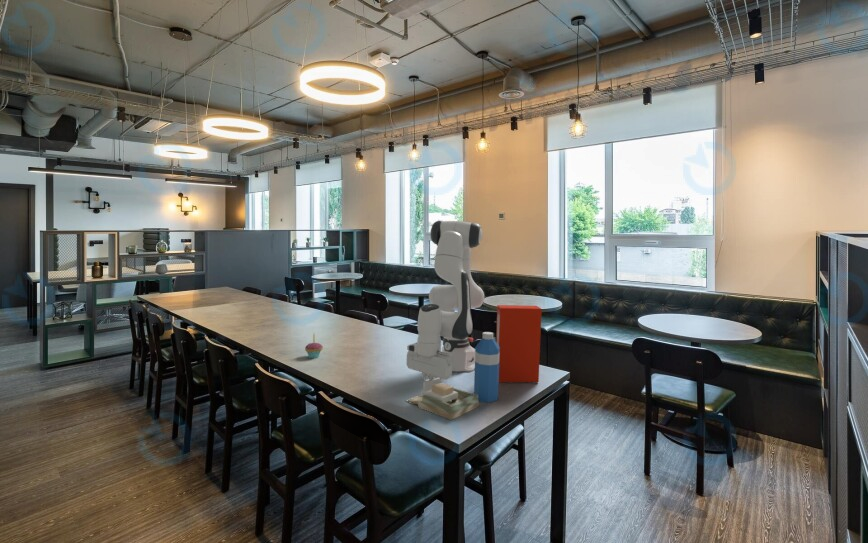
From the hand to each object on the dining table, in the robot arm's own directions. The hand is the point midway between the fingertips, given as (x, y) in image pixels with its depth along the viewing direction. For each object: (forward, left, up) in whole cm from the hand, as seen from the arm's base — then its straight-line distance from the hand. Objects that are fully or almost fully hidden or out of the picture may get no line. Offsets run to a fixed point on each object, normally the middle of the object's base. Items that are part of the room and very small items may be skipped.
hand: (428, 385), depth 154 cm
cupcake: (-1, -79, -6) cm, 79 cm away
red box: (-43, +12, -6) cm, 45 cm away
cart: (+1, +7, -4) cm, 8 cm away
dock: (0, +6, -7) cm, 9 cm away
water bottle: (-17, +14, -6) cm, 23 cm away
